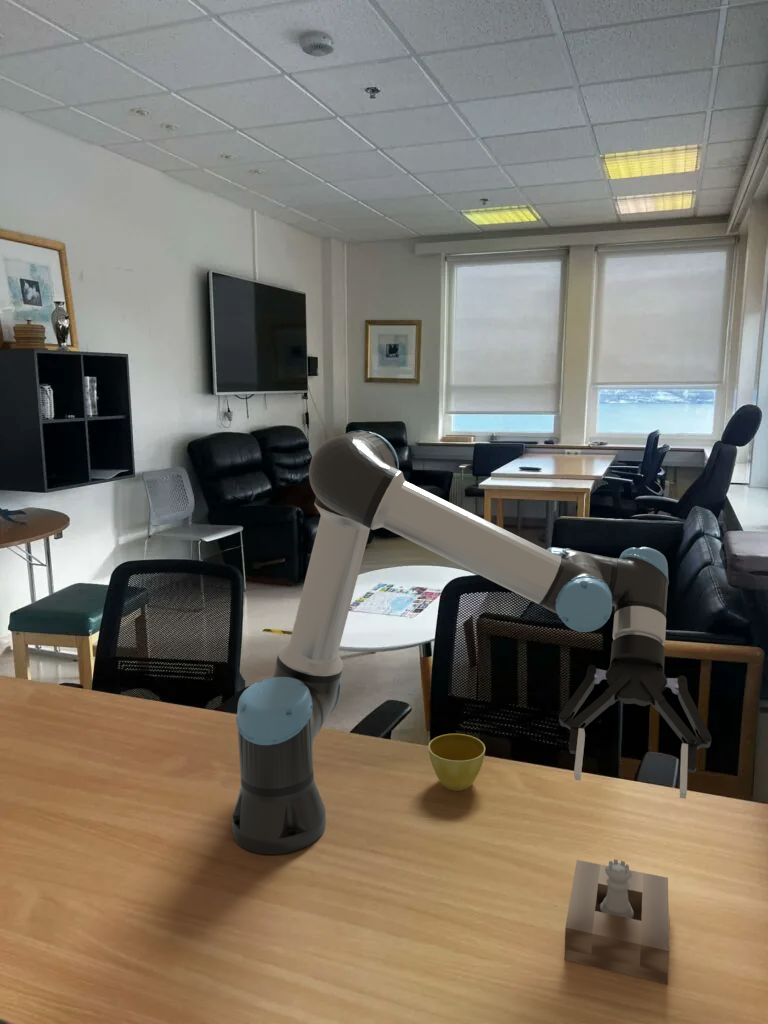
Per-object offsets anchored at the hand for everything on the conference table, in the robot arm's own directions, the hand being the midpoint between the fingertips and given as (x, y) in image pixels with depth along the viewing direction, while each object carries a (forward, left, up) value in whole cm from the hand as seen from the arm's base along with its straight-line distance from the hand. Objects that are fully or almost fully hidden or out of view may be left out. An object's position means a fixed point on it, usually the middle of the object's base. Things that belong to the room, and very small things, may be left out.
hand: (628, 786), depth 101 cm
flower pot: (-29, +22, -17) cm, 41 cm away
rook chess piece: (-1, -7, -15) cm, 17 cm away
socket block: (0, -7, -17) cm, 18 cm away
